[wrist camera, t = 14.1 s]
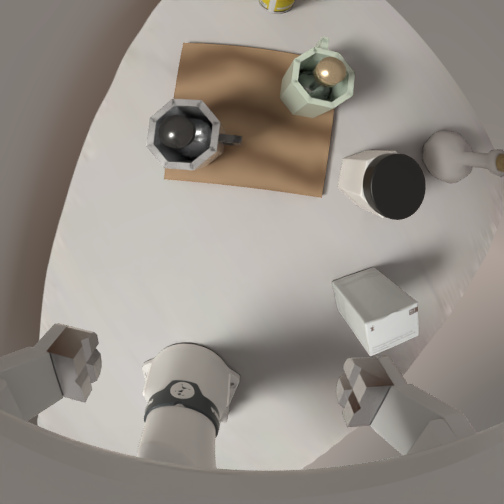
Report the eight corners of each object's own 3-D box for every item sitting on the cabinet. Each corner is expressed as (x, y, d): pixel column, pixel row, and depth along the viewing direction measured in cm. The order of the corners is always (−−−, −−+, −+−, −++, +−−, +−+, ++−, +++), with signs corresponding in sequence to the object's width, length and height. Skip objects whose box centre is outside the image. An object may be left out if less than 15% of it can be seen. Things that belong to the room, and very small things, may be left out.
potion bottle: (416, 178, 44) (489, 195, 27) (418, 126, 41) (492, 122, 24) (453, 183, 44) (525, 202, 27) (455, 135, 42) (528, 138, 25)
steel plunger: (210, 158, 36) (198, 159, 25) (172, 155, 36) (146, 156, 25) (215, 120, 34) (205, 106, 24) (177, 118, 34) (152, 104, 24)
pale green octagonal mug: (326, 121, 40) (350, 112, 30) (277, 112, 39) (289, 99, 30) (333, 62, 37) (357, 41, 28) (285, 53, 36) (297, 27, 27)
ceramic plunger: (325, 108, 36) (352, 95, 27) (291, 101, 36) (307, 85, 26) (329, 76, 35) (356, 55, 25) (295, 69, 35) (312, 44, 25)
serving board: (319, 196, 45) (321, 197, 43) (166, 178, 43) (164, 179, 42) (336, 65, 38) (339, 63, 37) (184, 45, 36) (183, 43, 35)
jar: (345, 212, 45) (377, 231, 34) (328, 162, 43) (358, 165, 32) (392, 193, 45) (434, 207, 33) (379, 145, 42) (419, 145, 31)
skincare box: (336, 309, 51) (366, 360, 37) (330, 278, 49) (362, 325, 35) (379, 293, 50) (419, 338, 36) (376, 263, 48) (419, 303, 34)
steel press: (237, 169, 42) (237, 174, 29) (171, 163, 41) (144, 167, 29) (244, 119, 40) (246, 104, 27) (177, 114, 39) (152, 98, 26)
